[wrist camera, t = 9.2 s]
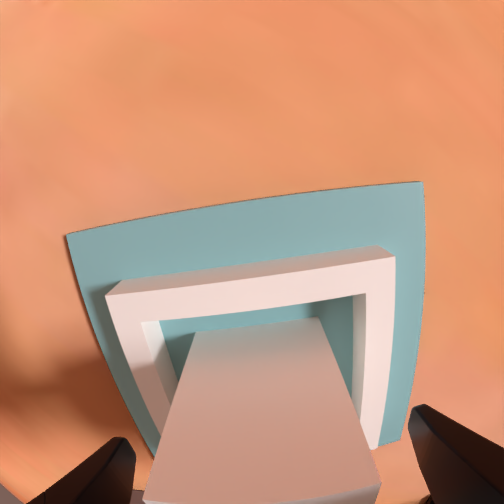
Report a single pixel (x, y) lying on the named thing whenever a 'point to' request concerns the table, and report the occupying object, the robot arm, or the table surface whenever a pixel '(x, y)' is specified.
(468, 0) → the table surface
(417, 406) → the robot arm
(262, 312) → the socket
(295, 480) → the plug block
